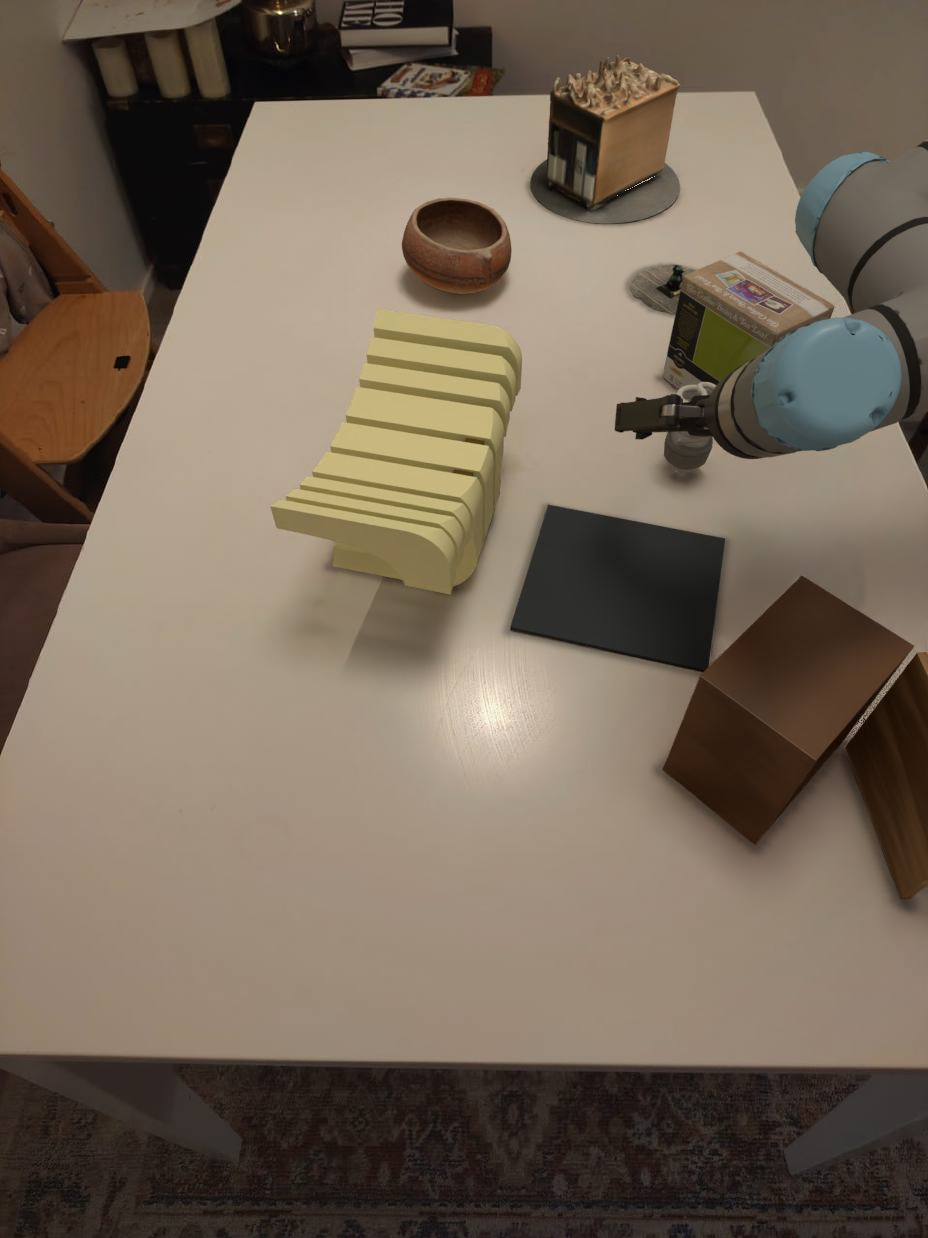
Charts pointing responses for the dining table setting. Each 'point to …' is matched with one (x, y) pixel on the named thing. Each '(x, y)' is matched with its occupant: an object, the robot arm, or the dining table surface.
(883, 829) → the cupboard door
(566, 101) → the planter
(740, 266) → the tea box
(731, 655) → the cupboard
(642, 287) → the sculpture
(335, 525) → the slatted curved stool
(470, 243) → the bowl
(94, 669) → the dining table surface
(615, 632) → the mat
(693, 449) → the light bulb
